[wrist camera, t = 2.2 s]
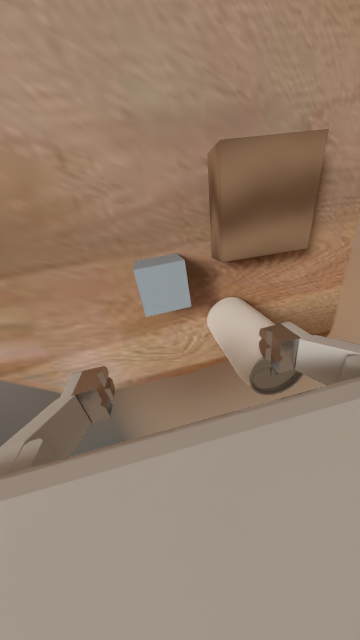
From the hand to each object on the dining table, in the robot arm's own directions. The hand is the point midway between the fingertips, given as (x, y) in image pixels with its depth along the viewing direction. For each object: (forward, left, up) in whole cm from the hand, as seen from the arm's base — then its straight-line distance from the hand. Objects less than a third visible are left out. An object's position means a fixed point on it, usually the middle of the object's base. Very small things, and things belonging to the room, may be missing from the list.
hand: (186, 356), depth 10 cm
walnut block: (-6, +12, -16) cm, 21 cm away
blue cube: (0, 0, -16) cm, 16 cm away
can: (+7, +8, -16) cm, 19 cm away
